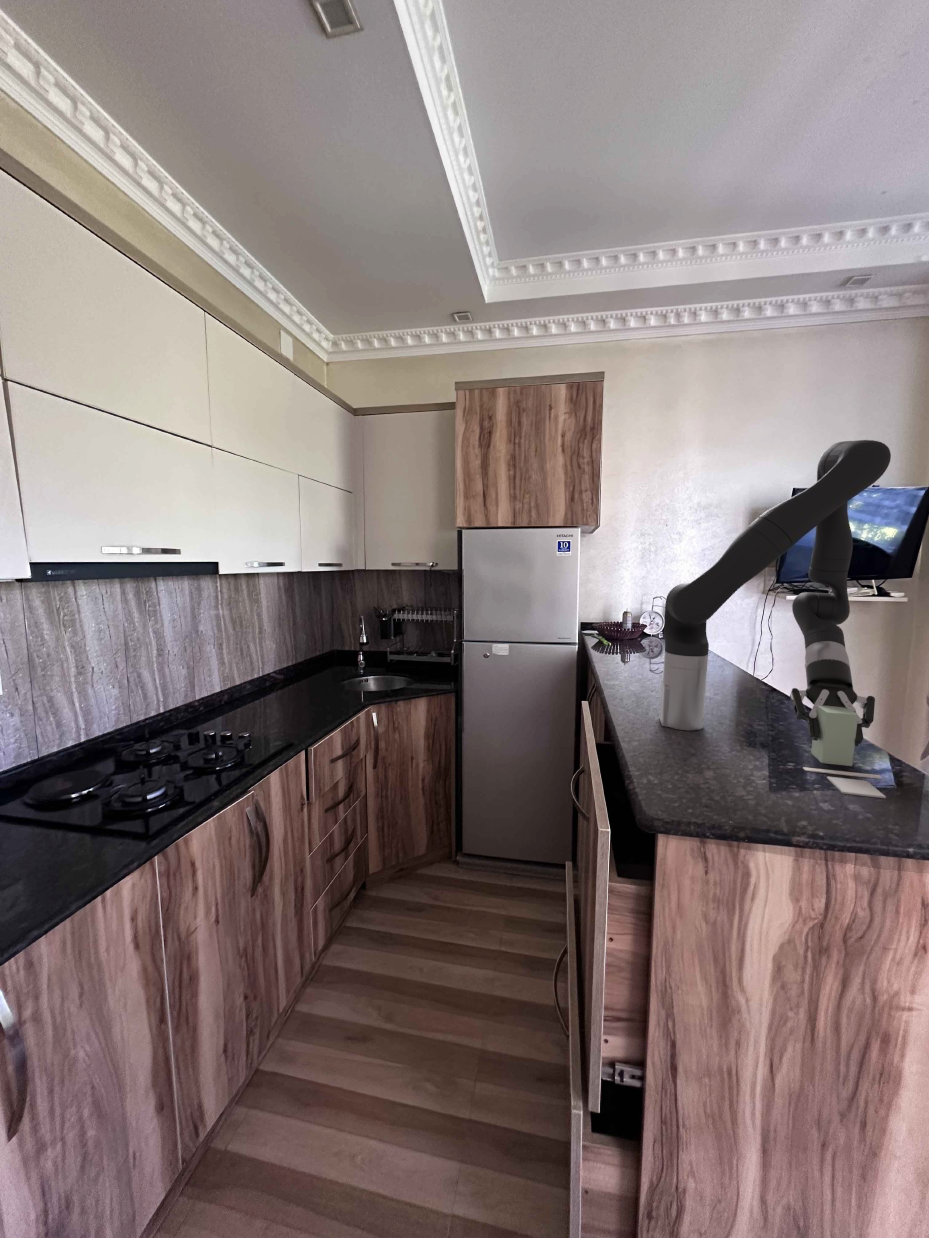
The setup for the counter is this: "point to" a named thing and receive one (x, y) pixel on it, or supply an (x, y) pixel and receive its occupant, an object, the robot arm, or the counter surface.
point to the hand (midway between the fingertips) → (836, 741)
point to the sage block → (835, 735)
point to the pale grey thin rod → (842, 773)
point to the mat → (855, 787)
